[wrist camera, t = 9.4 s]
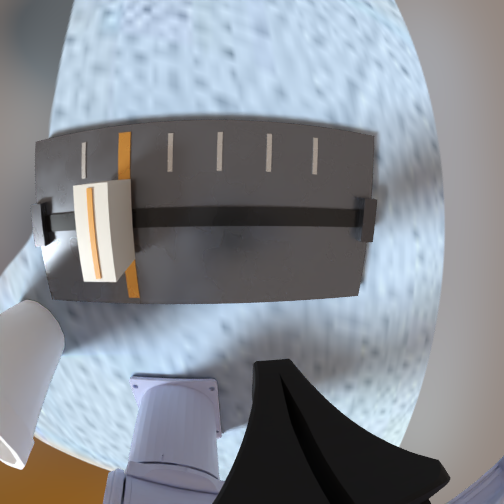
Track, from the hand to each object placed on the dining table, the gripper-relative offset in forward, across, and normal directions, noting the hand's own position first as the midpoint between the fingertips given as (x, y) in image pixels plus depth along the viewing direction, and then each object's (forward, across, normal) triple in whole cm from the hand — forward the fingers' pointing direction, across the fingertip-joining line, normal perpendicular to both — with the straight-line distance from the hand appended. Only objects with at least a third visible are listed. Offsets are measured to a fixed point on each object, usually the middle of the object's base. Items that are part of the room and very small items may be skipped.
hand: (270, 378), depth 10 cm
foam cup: (+10, +19, +6) cm, 23 cm away
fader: (+9, +8, -4) cm, 13 cm away
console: (+10, +3, -4) cm, 12 cm away
